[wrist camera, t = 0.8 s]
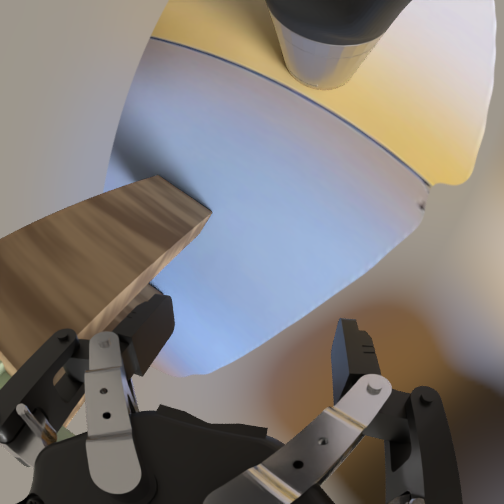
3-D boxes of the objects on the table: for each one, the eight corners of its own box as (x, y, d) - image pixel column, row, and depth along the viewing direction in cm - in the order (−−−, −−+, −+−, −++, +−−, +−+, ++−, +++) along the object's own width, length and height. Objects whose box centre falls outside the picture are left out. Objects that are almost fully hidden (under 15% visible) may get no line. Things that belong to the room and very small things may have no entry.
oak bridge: (158, 174, 37) (-52, 270, 8) (212, 212, 38) (31, 385, 9) (115, 277, 47) (-5, 391, 18) (156, 308, 47) (53, 446, 18)
